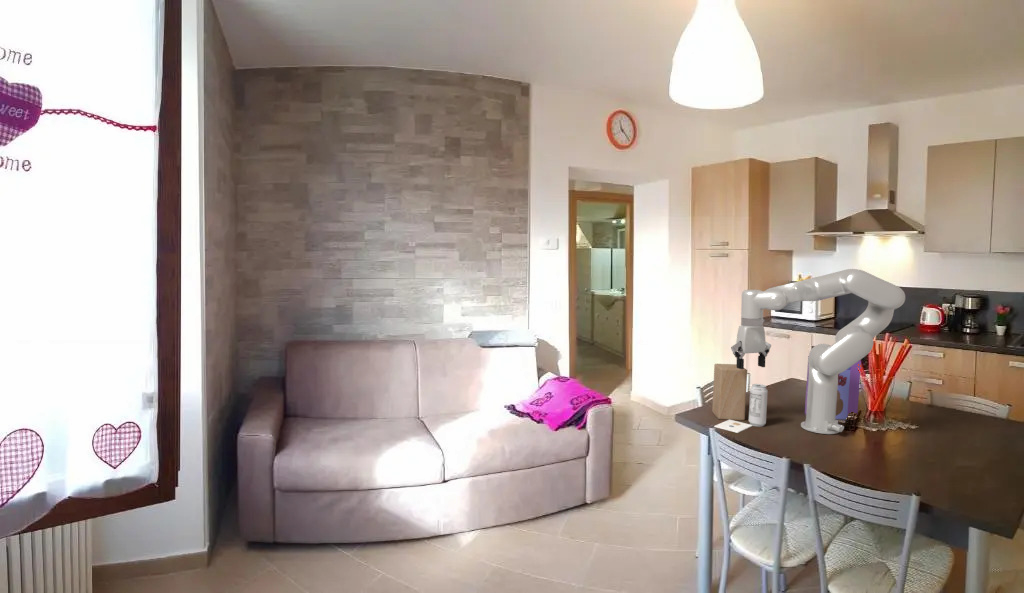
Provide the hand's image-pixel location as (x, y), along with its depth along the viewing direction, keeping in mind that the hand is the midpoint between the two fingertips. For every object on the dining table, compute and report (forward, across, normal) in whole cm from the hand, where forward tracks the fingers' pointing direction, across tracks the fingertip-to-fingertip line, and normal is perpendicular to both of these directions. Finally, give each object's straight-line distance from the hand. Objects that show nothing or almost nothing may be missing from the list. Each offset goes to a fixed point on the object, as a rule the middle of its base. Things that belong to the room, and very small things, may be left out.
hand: (750, 367), depth 216 cm
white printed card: (+21, +9, +2) cm, 23 cm away
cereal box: (+22, -36, +2) cm, 43 cm away
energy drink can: (+22, -1, +2) cm, 22 cm away
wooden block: (+21, +3, -9) cm, 23 cm away
